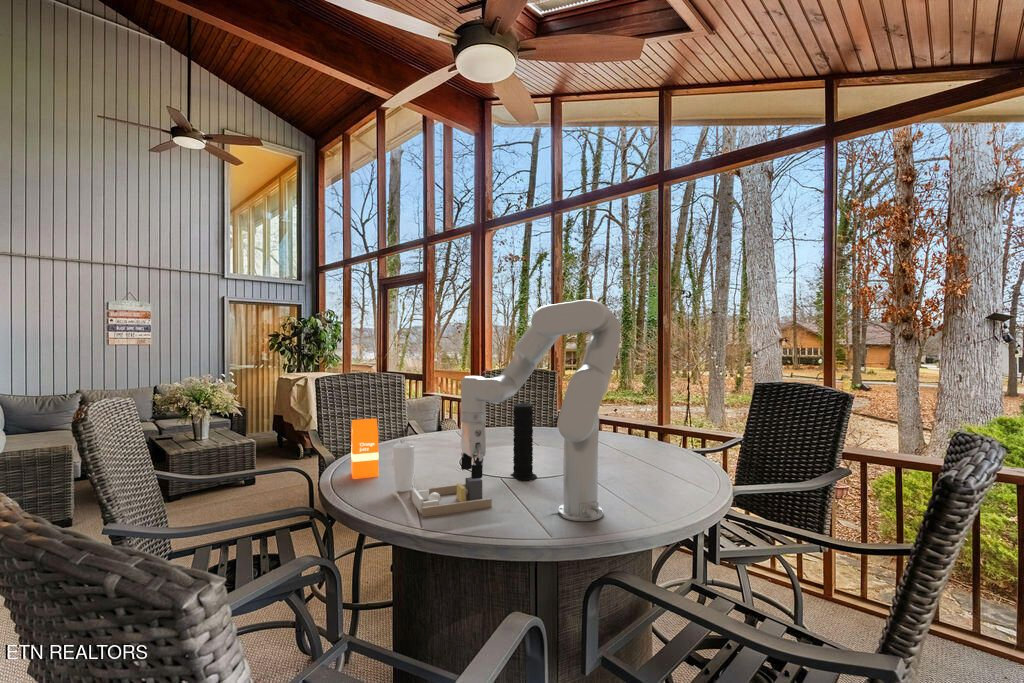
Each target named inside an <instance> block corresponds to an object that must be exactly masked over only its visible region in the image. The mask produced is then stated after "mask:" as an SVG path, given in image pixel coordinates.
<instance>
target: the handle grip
mask: <svg viewBox="0 0 1024 683" xmlns="http://www.w3.org/2000/svg"><path fill="white" fill-rule="evenodd" d="M533 407H534V404H530V403H527V402H520V403H516V404H513V426H512V427H513V472H512V473H511V474H510V476H511V477H512V478H514V479H515V480H517V481H519V482H531V481H530V480H533V481H535V480H537V479H538V476H537V474H535V473H534V472H533V469H534V468H533V466H534V465H533V464H534V463H533V460H534V458H533V457H534V456H533V454H534V453H533V450H534V446H533V445H534V444H533V442H534V441H533V440H534V438H533V436H534V435H533V433H534V429H533V427H534V425H533V423H534V419H533V418H534V416H533V415H534V410H533ZM536 478H537V479H536ZM534 479H535V480H534Z"/></svg>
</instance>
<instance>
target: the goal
mask: <svg viewBox="0 0 1024 683" xmlns="http://www.w3.org/2000/svg"><path fill="white" fill-rule="evenodd" d="M416 489H417V488H415V487H412V499H411V502H412V504H413V505H414V506H415V508H416V509H417V511H418V512H419V513H420V514H422V507H428V506H436V505H439V504H438V500H433V501H428V498H429V489H427V490H419V491H417V490H416Z"/></svg>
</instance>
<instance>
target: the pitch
mask: <svg viewBox="0 0 1024 683" xmlns="http://www.w3.org/2000/svg"><path fill="white" fill-rule="evenodd" d="M461 484H462V485H463V486H464V487H465V483H461ZM415 489H416V490H417V491H419V490H427V489H429V495H430V494H431V493H433V492H436V493H438V494H439V495H440V496H441V495H452V494H457V484H451V485H450V484H449V485H443V486H435V487H434V486H433V487H425V488H419V489H418V488H415ZM409 499H411V500H412V490H410V491H409ZM492 504H493V500H492V498H491V497H488V498H482V499H479V500H472V501H468V500H466V501H465V502H460V501H458V502H450V503H445V504H443V503H442V504H438V505H436V506H428V507H422V513H421V517H423V518H424V517H430V516H431V517H432V516H437V515H445V514H452V513H460V512H466V511H473V510H479V509H488V508H492V507H493V505H492Z"/></svg>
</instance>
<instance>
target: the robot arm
mask: <svg viewBox="0 0 1024 683" xmlns="http://www.w3.org/2000/svg"><path fill="white" fill-rule="evenodd" d="M530 323H531V324H530V325H529V327H528V329H527V330H526V331H525V332H524V333H523V334H522V335H521V337H520V338H519V339H518V341H517V342H516V343H515V346H514V353H513V356H512V359H511V360H510V362H509V363H508V365H506V367H505V368H504V370H503V371H502V372H501V373H500V374H499V375H498V376H494V377H490V378H489V377H488V378H486V377H484V376H481V375H465V376H463V377H462V378H461V384H460V385H461V386H460V387H461V388H460V390H461V392H460V421H459V422H460V423H462V424H461V436H460V447H461V463H460V466H461V468H460V469H461V470H463V471H465V470H471V476H470V477H471V478H472V479H477V478H480V479H482V478H483V467H484V466H483V465H484V457H485V456H486V454H487V450H486V446H487V445H486V444H487V443H486V426H485V423H486V417H487V416H486V414H487V413H486V412H487V403H489V404H501V403H502V402H505V401H507V400H509V399H511V398H512V397H514V396H515V395H516V394H517V392H518V391H519V390H520V389H521V388H522V386H524V384H525V383H526V381H527V380H528V379H529V378H530V377H531V375H532V373H533V372H534V371H535V369H536V368H537V366H538V364H539V363H540V361H541V360H542V359H543V358H544V357H545V356H546V354H547V353H548V352H549V350H550V349H551V348H552V347H553V345H554V344H555V343H556V342H557V340H558V339H560V337H561V336H563V335H564V336H565V335H572V334H578V333H587V332H589V340H588V343H587V345H586V348H585V352H584V356H583V359H582V363H581V364H580V368H579V369H577V370H576V371H575V372H574V373H573V374H572V375H571V376H570V380H569V381H568V385H567V387H566V391H565V394H564V398H563V401H562V403H561V404H562V405H561V407H560V409H559V410H560V411H559V413H558V418H557V429H558V432H559V433H560V435H561V437H563V438H564V441H563V504H561V505H559V506H558V508H557V511H558V515H559V516H560V517H562V518H563V519H566V520H569V521H575V522H591V521H596V520H599V519H601V518H602V517H603V516H604V510H603V508H602V507H600V506H599V501H598V496H599V495H598V491H599V489H598V479H599V478H598V473H599V472H598V470H599V469H598V468H599V467H598V466H599V464H598V462H599V461H598V460H599V436H600V434H599V433H600V416H599V411H600V410H599V409H600V406H601V403H602V401H603V398H604V396H605V395H606V393H607V391H608V390H609V386H610V379H611V376H612V372H613V370H614V366H615V364H616V363H615V362H616V359H617V355H618V352H619V348H620V344H621V334H622V333H621V326H620V324H619V323H620V322H619V320H618V319H617V317H616V316H615V314H614V313H613V312H612V311H611V310H610V309H609V307H607V306H606V305H605V304H603V302H600V301H597V300H594V299H587V298H586V299H581V300H580V299H579V300H573V301H567V302H560V303H555V304H547V305H542V306H540V307H539V308H537V309H536V310H535V311H534V313H533V314H532V317H531V320H530Z"/></svg>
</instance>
